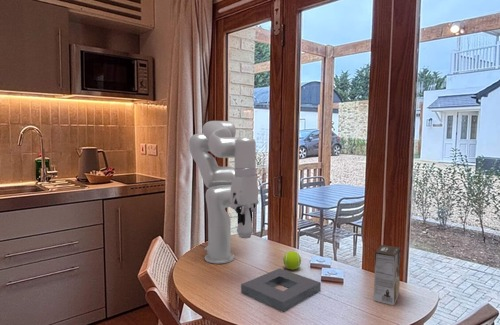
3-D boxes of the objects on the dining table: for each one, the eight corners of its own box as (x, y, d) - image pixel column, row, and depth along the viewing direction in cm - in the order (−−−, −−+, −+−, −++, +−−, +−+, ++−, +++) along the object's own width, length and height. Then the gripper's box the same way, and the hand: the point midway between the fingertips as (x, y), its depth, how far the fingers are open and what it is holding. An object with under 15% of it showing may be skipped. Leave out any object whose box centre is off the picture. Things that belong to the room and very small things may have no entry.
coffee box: (379, 290, 117) (380, 244, 116) (399, 294, 114) (401, 247, 113) (373, 300, 109) (374, 251, 108) (394, 306, 106) (396, 255, 105)
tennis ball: (283, 272, 133) (283, 254, 132) (283, 265, 140) (283, 248, 139) (301, 272, 132) (301, 255, 132) (300, 266, 139) (300, 249, 139)
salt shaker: (251, 239, 120) (251, 203, 119) (235, 238, 122) (235, 202, 121) (254, 235, 126) (254, 200, 125) (239, 234, 127) (239, 199, 126)
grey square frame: (241, 292, 115) (241, 284, 115) (279, 276, 129) (279, 268, 129) (283, 312, 102) (283, 302, 102) (320, 291, 116) (320, 282, 116)
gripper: (253, 170, 131) (253, 218, 132) (220, 173, 119) (220, 225, 120) (268, 172, 125) (267, 221, 127) (235, 175, 114) (235, 229, 115)
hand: (245, 223), depth 123 cm, fingers closed on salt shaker, 3 cm apart
